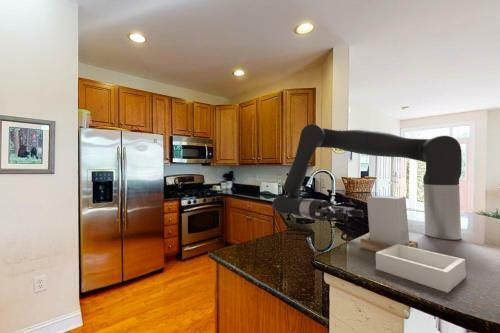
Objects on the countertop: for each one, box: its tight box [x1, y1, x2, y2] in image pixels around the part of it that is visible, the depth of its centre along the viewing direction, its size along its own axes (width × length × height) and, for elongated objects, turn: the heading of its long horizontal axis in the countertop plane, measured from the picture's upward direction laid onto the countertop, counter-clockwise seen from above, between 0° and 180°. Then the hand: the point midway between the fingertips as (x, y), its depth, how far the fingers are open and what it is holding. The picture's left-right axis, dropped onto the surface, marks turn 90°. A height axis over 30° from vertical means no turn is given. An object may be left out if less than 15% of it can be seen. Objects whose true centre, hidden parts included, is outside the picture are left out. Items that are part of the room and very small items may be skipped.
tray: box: [375, 244, 467, 294], centre depth 49 cm, size 11×13×4 cm
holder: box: [359, 235, 419, 253], centre depth 64 cm, size 9×11×2 cm
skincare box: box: [366, 195, 410, 245], centre depth 64 cm, size 8×6×15 cm
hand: (355, 215), depth 72 cm, fingers open, 8 cm apart
